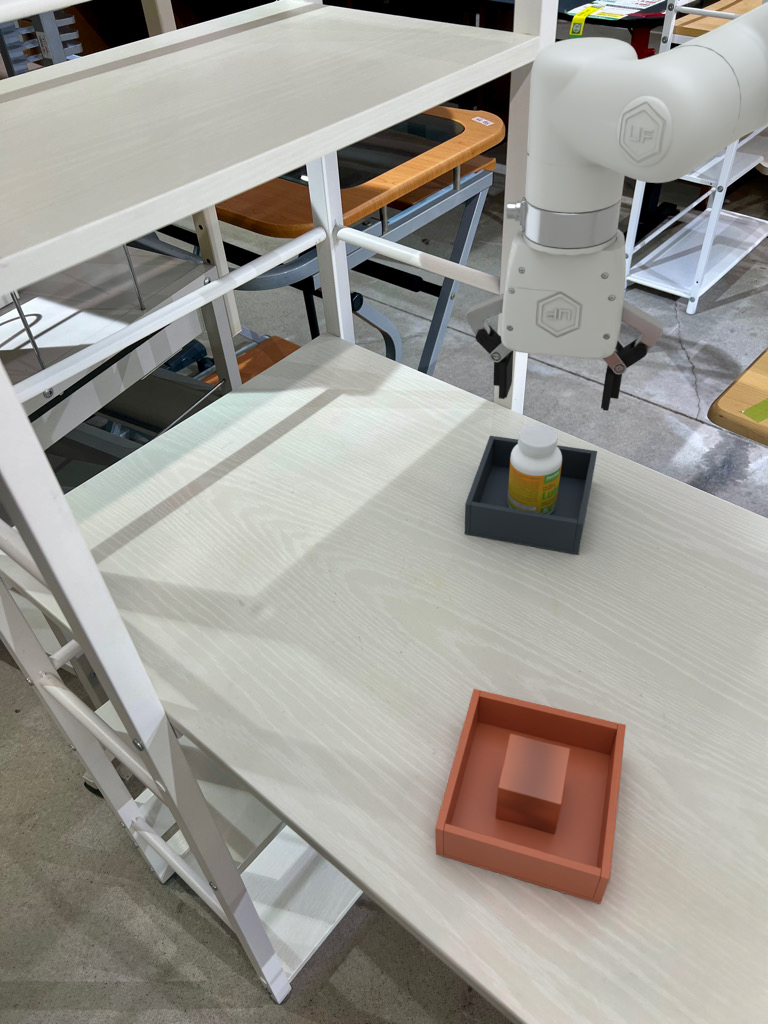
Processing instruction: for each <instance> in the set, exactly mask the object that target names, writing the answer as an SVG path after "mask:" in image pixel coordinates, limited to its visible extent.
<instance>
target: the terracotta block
mask: <svg viewBox="0 0 768 1024" xmlns="http://www.w3.org/2000/svg"><path fill="white" fill-rule="evenodd" d="M569 755H570V749H569V748H566V747H562V746H558V745H554V744H550V743H546V742H542V741H538V740H534V739H530V738H526V737H522V736H518V735H514V734H510V736H509V741H508V745H507V750H506V754H505V759H504V763H503V767H502V772H501V776H500V781H499V785H498V793H497V804H496V815H495V817H496V818H498V819H501V820H505V821H508V822H512V823H515V824H519V825H523V826H526V827H530V828H533V829H537V830H540V831H544V832H547V833H551V834H555V832H556V828H557V823H558V819H559V814H560V810H561V805H562V799H563V793H564V787H565V780H566V774H567V768H568V762H569Z"/></svg>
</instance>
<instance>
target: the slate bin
mask: <svg viewBox="0 0 768 1024" xmlns="http://www.w3.org/2000/svg"><path fill="white" fill-rule="evenodd" d="M517 444H518V439H517V438H510V437H503V436H497V435H489V437H488V439H487V442H486V446H485V448H484V450H483V454H482V456H481V459H480V461H479V464H478V467H477V471H476V473H475V475H474V479H473V481H472V483H471V487H470V489H469V493H468V495H467V498H466V501H465V503H464V535H466V536H467V535H468V536H472V537H478V538H484V539H488V540H495V541H500V542H505V543H510V544H517V545H520V546H521V545H522V546H527V547H532V548H533V547H534V548H538V549H543V550H549V551H554V552H559V553H560V552H561V553H565V554H570V555H576V556H577V555H578V556H579V554H580V553H579V552H580V548H581V543H582V538H583V537H582V536H583V532H584V527H585V521H586V516H587V511H588V506H589V500H590V495H591V489H592V484H593V479H594V474H595V467H596V461H597V456H598V450H592V449H587V448H586V449H585V448H579V447H573V446H566V445H558V444H557V447H558V448H559V450H560V451H561V454H562V465H561V473H560V480H559V488H558V495H557V502H556V507H555V509H554V511H553V512H552V513H551V514H550V515H548V514H542V513H536V512H531V511H525V510H519V509H513V508H509V506H508V501H507V500H508V485H509V471H510V458H511V452H512V450H513V448H514V447H515V446H516V445H517Z"/></svg>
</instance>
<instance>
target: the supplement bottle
mask: <svg viewBox="0 0 768 1024" xmlns="http://www.w3.org/2000/svg"><path fill="white" fill-rule="evenodd" d="M517 438H518V444H517V445H516V446H515V447H514V448H513V450H512V452H511V458H510V471H509V485H508V500H507V501H508V506H509V508H513V509H519V510H525V511H531V512H536V513H542V514H548V515H550V514H551V513H552V512H553V511H554V509H555V507H556V502H557V495H558V488H559V480H560V473H561V465H562V454H561V451H560V450H559V448H558V447H557V445H558V442H559V435H558V432H557V430H555V428H553V427H551V426H549V425H548V424H543V423H531V424H527V425H525V426H523V427H522V428H520V430H519V433H518V437H517Z"/></svg>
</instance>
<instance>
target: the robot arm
mask: <svg viewBox="0 0 768 1024" xmlns="http://www.w3.org/2000/svg"><path fill="white" fill-rule="evenodd" d="M529 83H530V84H529V100H528V101H529V105H528V108H529V109H528V125H527V148H526V167H525V188H524V189H525V190H524V196H522V199H521V200H517V201H508V202H507V204H506V209H505V210H506V211H505V217H506V220H514V221H515V222H519V226H521V228H520V229H518V231H516V234H515V235H514V236H513V238H512V242H511V245H510V250H509V254H508V261H507V264H506V265H507V266H506V272H505V280H504V281H505V282H504V288H503V289H504V291H503V293H500V294H498V295H496V296H493V297H491V298H489V299H486V300H484V301H481V302H479V303H476V304H474V305H472V306H470V307H469V308H468V309H467V312H466V314H465V320H466V322H467V324H468V325H469V327H470V329H471V331H472V333H474V335H475V341H476V342H477V343H478V344H479V345H480V346H481V347H482V348H483V349H484V350H485V351H486V352H487V353H488V355H489V359H490V360H491V361H492V362H493V386H495V387H498V399H501V400H505V399H507V398H508V395H509V392H510V389H511V387H512V383H513V370H514V369H513V368H514V352H516V353H523V354H530V355H531V354H532V355H540V356H541V355H542V356H551V357H560V358H561V357H562V358H573V359H585V360H600V359H601V360H602V359H603V361H604V362H605V363H606V364H607V366H606V371H605V377H604V382H603V383H604V384H603V391H602V397H601V405H600V409H601V410H602V411H606V412H608V411H609V409H610V403H611V400H612V399H613V400H618V399H619V398H620V397H619V396H620V390H621V384H622V379H623V375H624V374H625V373H626V372H627V369H629V368H630V367H631V366H633V365H635V364H636V363H637V362H639V361H640V360H642V359H643V358H645V357H646V356H647V354H648V352H649V351H650V349H652V348H653V347H654V346H655V344H656V343H657V342H658V341H659V340H660V338H662V336H663V334H664V327H665V325H664V323H663V321H662V320H659V319H658V318H656V317H654V316H653V315H651V314H649V313H648V312H645V311H643V309H641V308H639V307H637V306H635V305H634V304H631V303H630V302H628V301H626V300H625V292H626V291H625V290H626V273H627V272H626V271H627V258H626V257H627V255H626V241H625V240H626V239H625V235H624V232H622V231H621V230H620V229H619V220H620V213H621V205H622V198H623V197H622V196H623V190H624V184H625V183H624V182H625V177H628V178H630V179H633V180H637V181H638V182H643V183H651V184H652V183H654V184H663V183H669V182H672V181H675V180H678V179H681V178H683V177H685V176H686V175H688V174H690V173H692V172H693V171H695V170H697V168H699V167H700V166H702V165H703V164H704V163H706V162H707V161H709V160H710V159H712V158H713V157H715V155H717V154H719V153H720V152H721V151H723V150H724V149H726V148H727V147H729V146H730V145H732V144H733V143H735V142H737V141H738V140H740V139H741V138H743V137H745V136H746V135H749V134H751V133H754V132H755V131H757V130H760V129H762V128H764V127H766V126H768V1H766V2H763V4H760V5H759V6H757V7H755V8H753V9H751V10H749V11H747V12H746V13H743V14H742V15H740V16H737V17H736V18H734V19H732V20H730V21H728V22H726V23H724V24H721V25H719V26H718V27H716V28H714V29H712V30H710V31H707V32H705V33H704V34H701V35H699V36H697V37H695V38H694V37H693V38H692V39H690V40H688V41H685V42H684V43H683V42H682V44H679V45H678V46H675V47H673V48H671V49H668V50H666V51H664V52H660V53H657V54H654V55H650V56H648V57H644V58H641V59H639V58H638V54H637V52H636V50H635V48H634V47H633V46H632V45H631V44H630V43H629V42H626V41H625V40H624V41H623V40H621V39H617V38H612V37H603V36H602V37H601V36H600V37H599V36H598V37H597V36H596V37H594V36H593V37H577V38H569V39H563V40H559V41H555V42H552V43H551V44H549V45H546V46H544V47H543V48H542V49H541V50H540V51H539V52H538V53H537V55H536V56H535V58H534V60H533V62H532V67H531V72H530V82H529ZM500 314H501V323H500V335H499V333H498V332H497V331H496V330H495V329H494V328H493V327H492V326H491V325H490V324H489V323H488V320H487V319H489V318H492V317H495V316H497V315H500ZM622 323H623V324H625V325H627V326H628V327H630V328H632V329H634V330H636V331H638V332H639V333H640V335H639V336H638V337H637V338H636V339H634V340H632V341H631V342H630V343H628V344H627V345H625V344H624V343H623V342H622V340H621V339H620V338H619V337H620V331H621V325H622Z"/></svg>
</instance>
